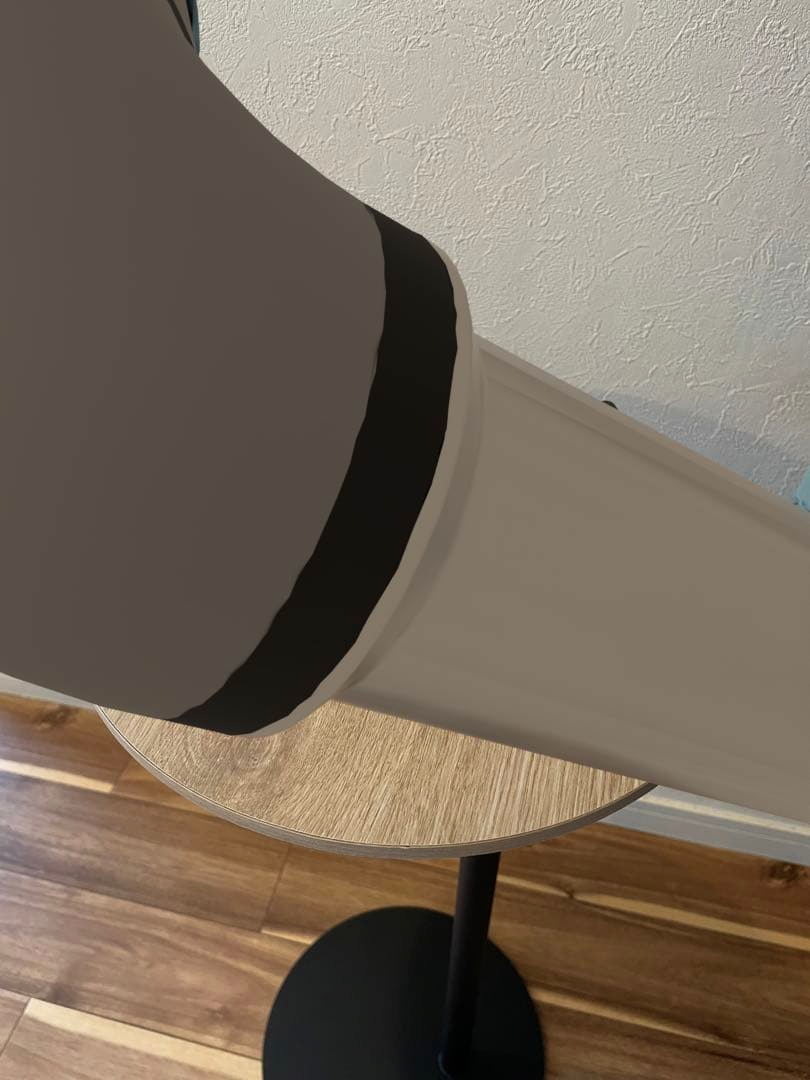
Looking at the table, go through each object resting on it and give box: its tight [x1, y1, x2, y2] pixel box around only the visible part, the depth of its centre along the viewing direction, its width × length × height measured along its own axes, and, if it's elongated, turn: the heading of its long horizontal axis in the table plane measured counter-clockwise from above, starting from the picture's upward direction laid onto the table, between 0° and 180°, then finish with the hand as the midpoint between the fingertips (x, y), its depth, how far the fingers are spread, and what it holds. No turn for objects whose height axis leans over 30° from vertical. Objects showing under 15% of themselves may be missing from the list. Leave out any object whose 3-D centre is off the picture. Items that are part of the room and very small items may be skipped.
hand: (426, 417), depth 68 cm, fingers open, 13 cm apart
